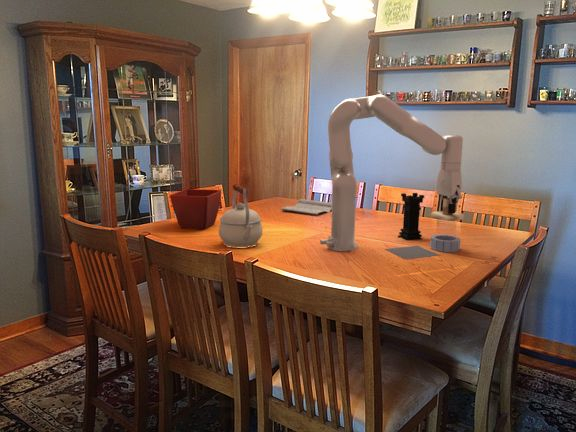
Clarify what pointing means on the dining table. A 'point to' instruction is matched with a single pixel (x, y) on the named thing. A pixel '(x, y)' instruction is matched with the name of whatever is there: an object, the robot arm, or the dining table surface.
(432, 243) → the bowl
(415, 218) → the chess piece
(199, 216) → the plant pot
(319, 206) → the mat
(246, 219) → the kettle
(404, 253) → the rubber mat
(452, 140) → the robot arm
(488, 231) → the dining table surface
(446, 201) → the lid
